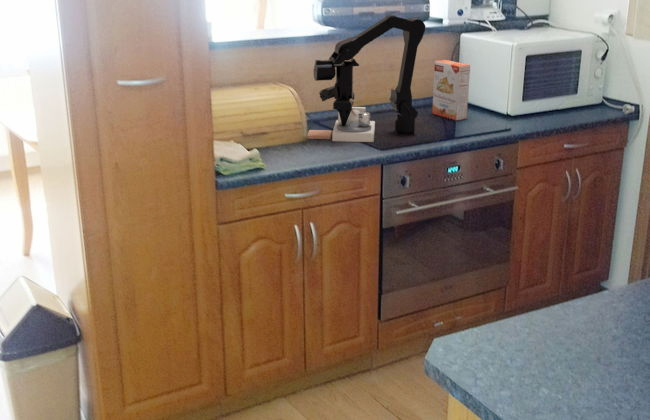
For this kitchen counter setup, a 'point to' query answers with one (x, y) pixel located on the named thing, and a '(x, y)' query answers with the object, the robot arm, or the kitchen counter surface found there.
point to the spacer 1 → (341, 123)
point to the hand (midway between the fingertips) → (344, 124)
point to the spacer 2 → (364, 119)
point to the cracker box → (451, 89)
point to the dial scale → (354, 129)
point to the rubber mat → (319, 134)
